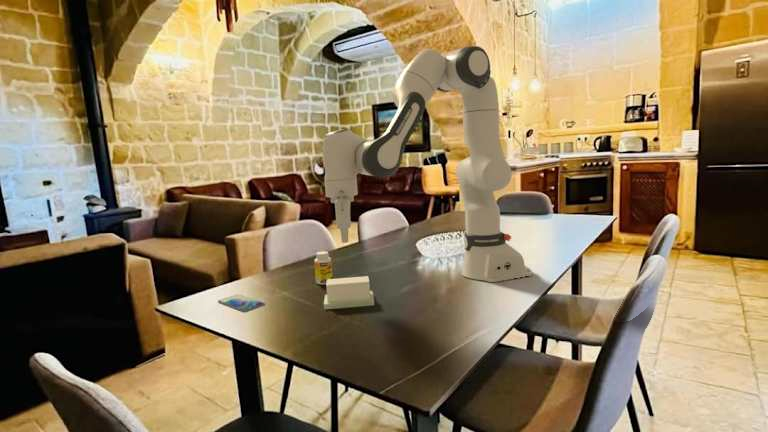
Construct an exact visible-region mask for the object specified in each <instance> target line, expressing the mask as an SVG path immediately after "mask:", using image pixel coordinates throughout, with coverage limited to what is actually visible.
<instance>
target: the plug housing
mask: <svg viewBox="0 0 768 432" xmlns="http://www.w3.org/2000/svg"><path fill="white" fill-rule="evenodd" d="M325 285H326V295H327V301H328V302H336V301H347V300H359V299H370V291H371V288H370V278H369V276H368V275H365V276H351V277H341V278H332V279H327V283H326V284H325Z"/></svg>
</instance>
